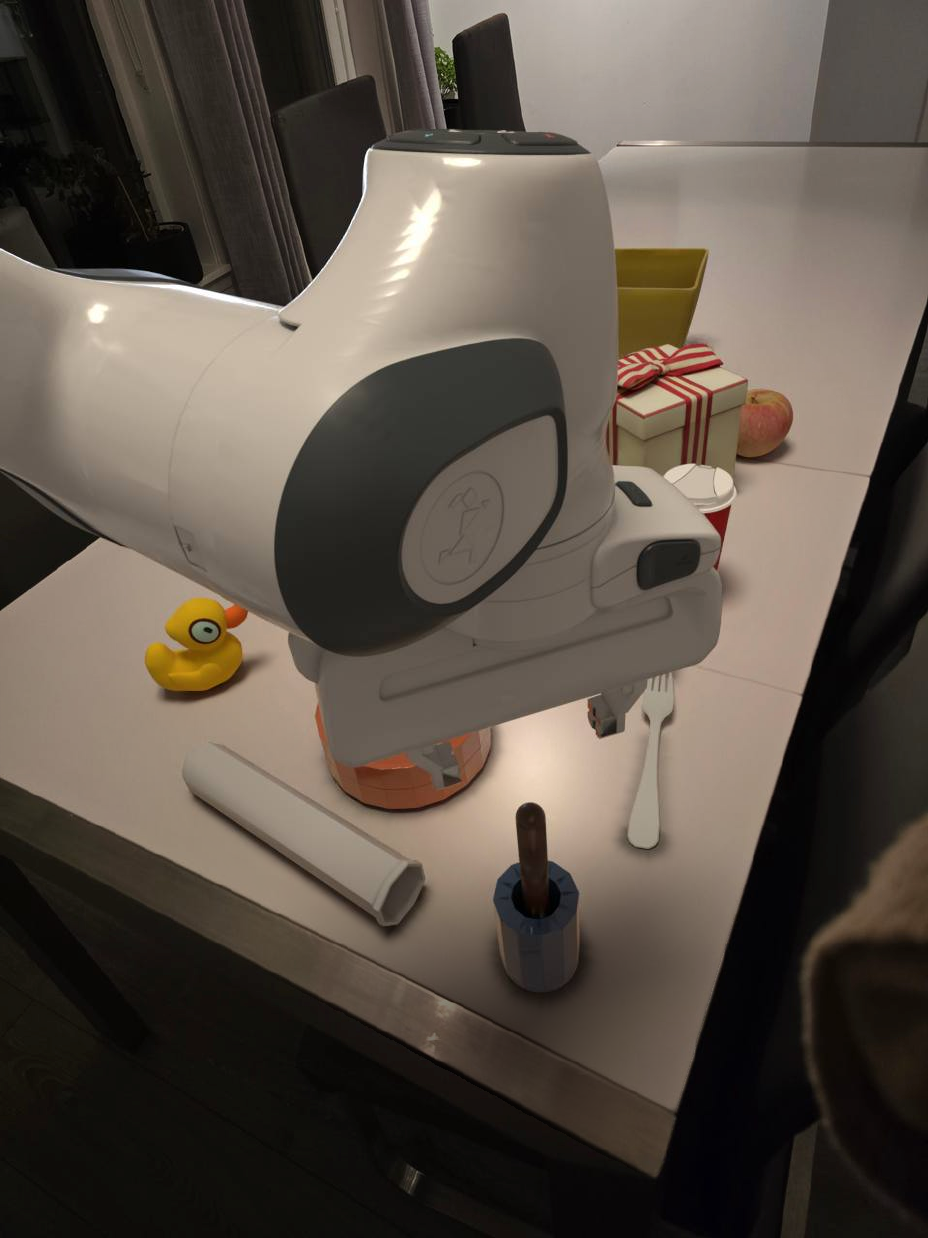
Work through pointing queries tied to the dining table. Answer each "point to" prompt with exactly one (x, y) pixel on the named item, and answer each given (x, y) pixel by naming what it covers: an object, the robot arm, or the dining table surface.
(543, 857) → the stirring stick
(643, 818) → the fork
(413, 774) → the orange round shallow dish
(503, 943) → the crock
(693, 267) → the flower pot
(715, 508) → the paper cup
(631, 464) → the gift box
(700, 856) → the dining table surface
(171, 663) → the duckling
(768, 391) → the apple
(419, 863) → the tube
